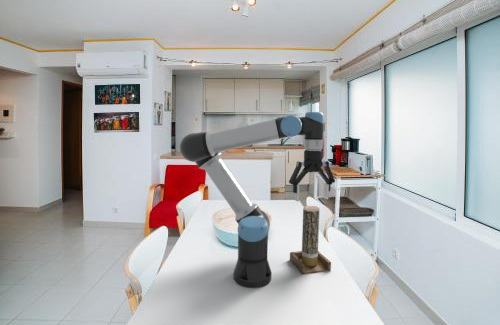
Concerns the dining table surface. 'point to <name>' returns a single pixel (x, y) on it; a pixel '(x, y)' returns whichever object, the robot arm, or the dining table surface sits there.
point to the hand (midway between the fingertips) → (311, 199)
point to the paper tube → (310, 235)
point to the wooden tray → (296, 259)
